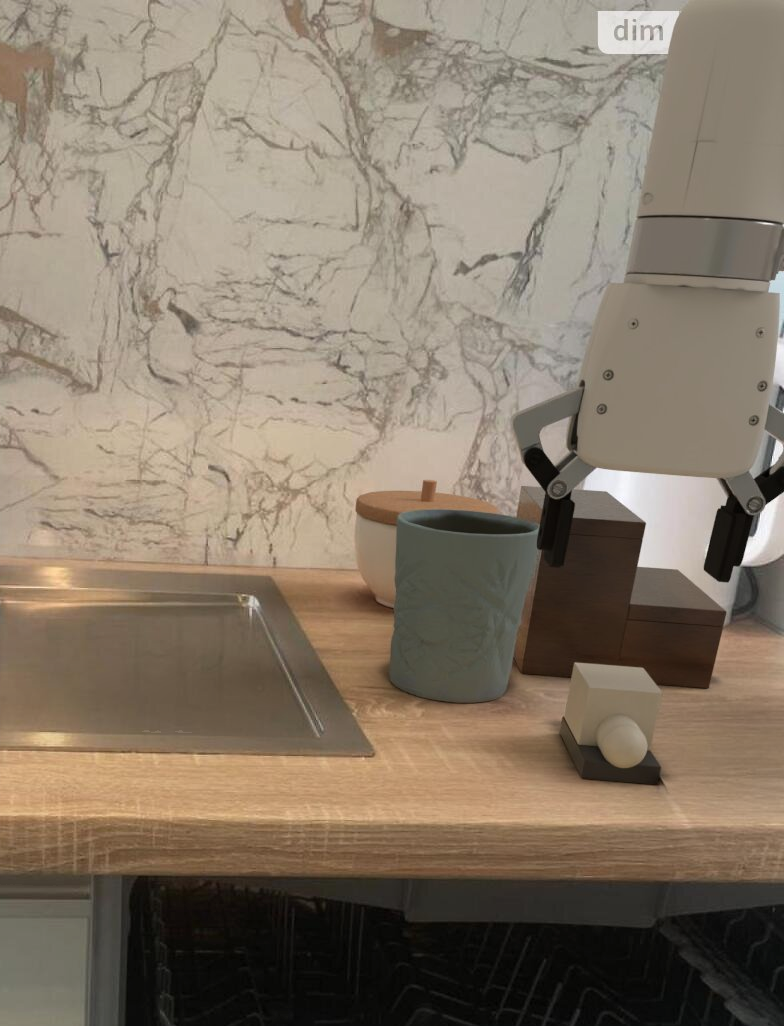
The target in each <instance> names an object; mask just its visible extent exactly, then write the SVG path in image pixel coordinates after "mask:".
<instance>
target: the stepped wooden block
mask: <svg viewBox="0 0 784 1026" xmlns="http://www.w3.org/2000/svg"><path fill="white" fill-rule="evenodd" d="M544 498H545V491H544V490H543V489H542V487H541V486H531V485H530V486H529V485H521V486H520V491H519V497H518V503H517V510H516V516H515V517H516V518H521V519H525V520H529V521H532V522H535V523H537V524H539V525H540V520H541V515H542V509H543V504H544ZM571 500H572V501H573V502H574V503H575V509H574V514H573V519H572V524H571V530H570V535H569V540H568V545H567V551H566V556H565V561H564V565H563V566H560V568H552V567H550V566H549V565H548V564H547V562H546V561H545V560H544V550H538V554H537V558H536V562H535V566H534V570H533V574H532V577H531V580H530V583H529V587H528V590H527V593H526V597H525V602H524V607H523V610H522V614H521V624H520V627H519V629H518V631H517V636H516V642H515V648H514V656H513V660H514V661H515V663H516V665H517V668H518V669H519V672H520V674H523V675H525V674H526V675H536V676H549V677H562V678H571V677H572V671H573V666H574V663H575V662H576V663H589V664H601V665H614V666H627V667H639V668H644V669H645V671H646V672H647V673H648V675H649V676H650V677H651V678H652V680H653V681H654V682H655V684H656V685H663V686H671V687H672V686H674V687H687V688H697V689H709V688H710V685H711V680H712V677H713V673H714V667H715V663H716V660H717V655H718V651H719V647H720V643H721V638H722V635H723V634H722V633H723V630H724V625H725V620H726V617H727V613H728V612H727V610H726V609H724V608H723V607H722V606H721V605H720V604H719V603H718V602H717V601H715V600H714V599H713V598H712V597H710V596H709V595H708V594H707V593H706V592H704V590H703V589H702V588H700V587H699V586H697V585H696V583H694V582H693V581H692V580H691V579H689V578H688V577H687V576H686V575H685V574H684V573H682V572H681V570H679V569H676V568H675V569H674V568H663V567H649V566H646V567H645V566H639V561H640V555H641V550H642V546H643V539H644V536H645V531H646V526H647V522H646V521H644V520H643V519H642V518H641V517H640V516H638V515H637V514H636V513H635V512H633V510H631V509H629V507H627V506H626V505H624V503H622V502H621V501H619V500H618V499H617V498H615V496H613V495H612V494H611V493H609V492H608V491H605V490H590V489H577V488H576V489H575V488H574V489H573V490H572V493H571Z"/></svg>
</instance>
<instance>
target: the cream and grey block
mask: <svg viewBox="0 0 784 1026" xmlns="http://www.w3.org/2000/svg"><path fill="white" fill-rule="evenodd" d="M663 695H664V692H663V691H662V690H661V688H660V687H659V686H658V684H655V682H654V681H653V680H652V678H651V677H650V676H649V675H648V673H647V672H646V671H645V669H644V668H639V667H627V666H614V665H601V664H589V663H576V662H575V663H574V666H573V671H572V677H570V683H569V688H568V694H567V699H566V704H565V708H564V714H563V716H562V718H561V723H560V728H559V735H560V737H561V738H562V741H563V743H564V745H565V747H566V749H567V751H568V753H569V755H570V757H571V759H572V761H573V764H574V766H575V768H576V770H577V772H578V774H579V776H580V778H581V779H588V780H597V781H609V782H619V783H620V782H621V783H632V784H643V785H644V784H645V785H654V786H658V783H659V779H660V775H661V770H662V766H661V764H660V762H658V760H657V758H656V756H655V755H654V754H653V752H652V751H651V749H652V746H653V740H654V736H655V732H656V727H657V723H658V718H659V713H660V710H661V709H660V708H661V705H662V701H663V697H664V696H663Z"/></svg>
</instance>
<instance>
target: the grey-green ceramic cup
mask: <svg viewBox="0 0 784 1026" xmlns="http://www.w3.org/2000/svg"><path fill="white" fill-rule="evenodd" d="M539 526H540V525H539V524H537V523H535V522H532V521H529V520H525V519H521V518H516V516H511V515H506V514H500V513H498V514H493V513H485V512H476V511H467V510H449V509H429V510H414V511H408V512H404V513H401V514H399V515H398V516H397V532H396V558H395V577H394V580H395V587H396V596H395V604H394V608H393V619H394V622H393V632H392V635H391V641H390V654H389V655H390V656H389V681H390V683H392V685H393V686H395V687H396V688H398V689H399V690H401V691H403V692H405V693H408V694H410V695H414V696H416V697H420V698H422V699H427V700H433V701H439V702H446V703H447V702H448V703H458V704H474V703H475V704H476V703H484V702H490V701H494V700H497V699H499V698H501V697H503V695H505V692H506V690H507V688H508V684H509V680H510V676H511V672H512V667H513V662H514V648H515V642H516V636H517V631H518V629H519V627H520V624H521V614H522V610H523V607H524V602H525V597H526V593H527V590H528V587H529V583H530V580H531V577H532V574H533V570H534V566H535V562H536V558H537V554H538V549H537V537H538V531H539Z"/></svg>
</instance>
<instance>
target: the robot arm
mask: <svg viewBox="0 0 784 1026" xmlns="http://www.w3.org/2000/svg"><path fill="white" fill-rule="evenodd" d="M665 61H666V62H665V66H664V71H663V76H662V82H661V86H660V92H659V97H658V102H657V107H656V113H655V118H654V122H653V129H652V134H651V138H650V144H649V149H648V154H647V159H646V165H645V170H644V175H643V180H642V185H641V191H640V196H639V201H638V206H637V212H636V216H635V217H636V219H635V222H634V227H633V232H632V237H631V242H630V247H629V252H628V259H627V263H626V269H625V274H624V278H623V282H608V283H607V284H606V285H607V286H606V288H605V290H604V291H603V292H604V293H603V295H602V298H601V301H600V303H599V306H598V309H597V312H596V314H595V318H594V320H593V324H592V327H591V331H590V334H589V338H588V339H587V340H588V341H587V344H586V348H585V352H584V355H583V358H582V359H583V360H582V363H581V366H580V370H579V374H578V379H577V382H576V387H574V388H572V389H569V390H567V391H565V392H562V393H560V394H558V395H555V396H552V397H551V398H547V399H545V400H544V401H541V402H539V403H536V404H534V405H530V406H529V407H526V408H524V409H522V410H520V411H516V412H515V413H514V414H512V415H511V416H510V419H509V425H510V428H511V431H512V434H513V437H514V440H515V443H516V446H517V449H518V452H519V455H520V459H521V461H522V464H523V465H524V466H525V468H526V469H527V470H528V471H529V473H530V474H531V475H532V477H533V478H534V479H535V481H536V482H537V483H538V485H539V487H542V489H543V490H544V491H545V498H544V504H543V509H542V515H541V520H540V526H539V531H538V537H537V549H538V550H544V560H545V561H546V562H547V564H548V565H549V566H550V567H552V568H560V566H563V565H564V561H565V556H566V551H567V545H568V540H569V535H570V530H571V524H572V519H573V514H574V509H575V503H574V502H573V501H572V500H571V493H572V490H573V489H575V488H576V487H578V486H579V484H581V483H582V482H583V481H584V480H585V479H586V478H588V476H589V475H591V473H593V472H594V471H595V470H596V469H601V470H609V471H610V470H611V471H618V472H631V473H642V474H652V475H653V474H654V475H655V474H656V475H666V476H667V475H668V476H679V477H693V478H707V479H708V478H709V479H716V480H717V483H718V484H719V485H720V487H721V489H722V490H723V493H724V494H725V496H726V497H727V498H726V502H725V505H723V504H722V505H720V508H719V507H718V508H717V510H716V513H715V517H714V520H713V521H714V522H713V526H712V530H711V534H710V539H709V541H708V546H707V551H706V555H705V559H704V564H703V571H704V572H705V573H707V574H708V575H709V576H710V577H712V578H713V579H714V580H715V581H717V582H718V583H729V582H730V581H731V578H732V574H733V570H734V567H737V568H738V567H740V566H741V565H742V563H743V560H744V557H745V553H746V550H747V545H748V541H749V537H750V533H751V529H752V525H753V521H754V517H755V516H756V515H759V514H761V513H762V512H763V511H764V509H765V508H766V506H767V505H768V504H770V503H771V502H773V501H774V500H775V499H776V498H778V497H779V496H781V495H782V494H784V412H783V411H782V410H780V409H779V408H777V407H776V406H774V405H773V404H772V403H770V402H771V396H772V389H773V384H774V383H773V382H774V376H775V370H776V369H775V368H776V360H777V351H778V341H779V340H778V339H779V329H780V328H779V327H780V309H781V307H780V306H781V305H780V304H781V301H780V300H781V299H780V298H781V296H780V292H772V291H771V292H769V290H770V286H771V281H776V279H777V278H776V277H777V275H778V274H779V272H784V0H689V1H688V2H687V3H686V4H685V5H684V6H683V8H682V9H681V10H680V12H679V14H678V15H677V18H676V20H675V23H674V25H673V29H672V33H671V37H670V41H669V46H668V52H667V55H666V60H665ZM566 418H568V421H567V427H566V434H565V445H566V448H567V450H568V452H567V453H566V454H565V455H564V456H563V457H562V458H561V459H559V461H557V462H556V463H555V464H554V463H553V462H552V461H551V459H550V458H549V457H548V455H547V454H546V453H545V451H544V448H543V444H542V441H541V438H540V433H541V432H542V430H543V429H544V428H545V427H548V426H549V425H552V424H554V423H557V422H560V421H562V420H564V419H566ZM765 433H766V434H768V435H769V436H770V437H772V438H773V439H775V440H776V441H778V442H779V443H781V445H782V452H781V454H780V455H779V456H778V458H777V460H776V461H775V462H774V464H773V465H770V466H769V467H768V468H766V469H764V471H762V472H761V473H760V474H758V475H757V476H756V477H753V475H752V473H751V472H750V470H751V469H752V468H753V466H754V464H755V463H756V460H757V459H758V456H759V455H758V454H759V452H760V448H761V446H762V445H761V444H762V441H763V437H764V434H765Z"/></svg>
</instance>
